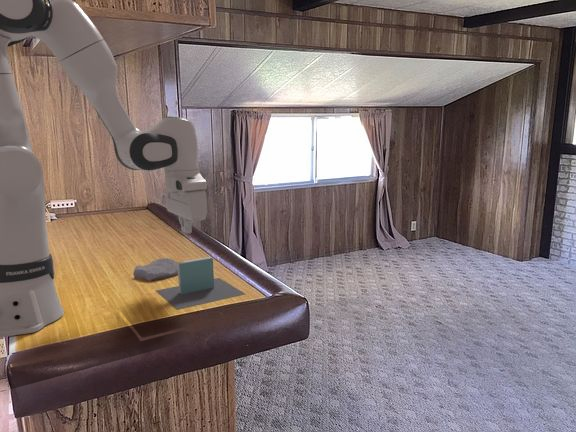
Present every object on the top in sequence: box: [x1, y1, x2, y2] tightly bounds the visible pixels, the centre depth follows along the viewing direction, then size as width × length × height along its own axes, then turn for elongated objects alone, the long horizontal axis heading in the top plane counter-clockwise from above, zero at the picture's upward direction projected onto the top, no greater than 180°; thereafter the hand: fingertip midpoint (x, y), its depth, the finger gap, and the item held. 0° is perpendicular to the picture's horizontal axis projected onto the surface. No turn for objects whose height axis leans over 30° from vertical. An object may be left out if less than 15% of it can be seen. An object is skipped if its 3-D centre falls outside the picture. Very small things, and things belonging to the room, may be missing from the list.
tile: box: [177, 256, 215, 295], centre depth 122 cm, size 9×2×8 cm, turn 123°
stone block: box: [132, 257, 178, 282], centre depth 137 cm, size 12×5×10 cm
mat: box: [155, 277, 246, 311], centre depth 121 cm, size 18×16×1 cm
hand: (186, 232), depth 125 cm, fingers closed
